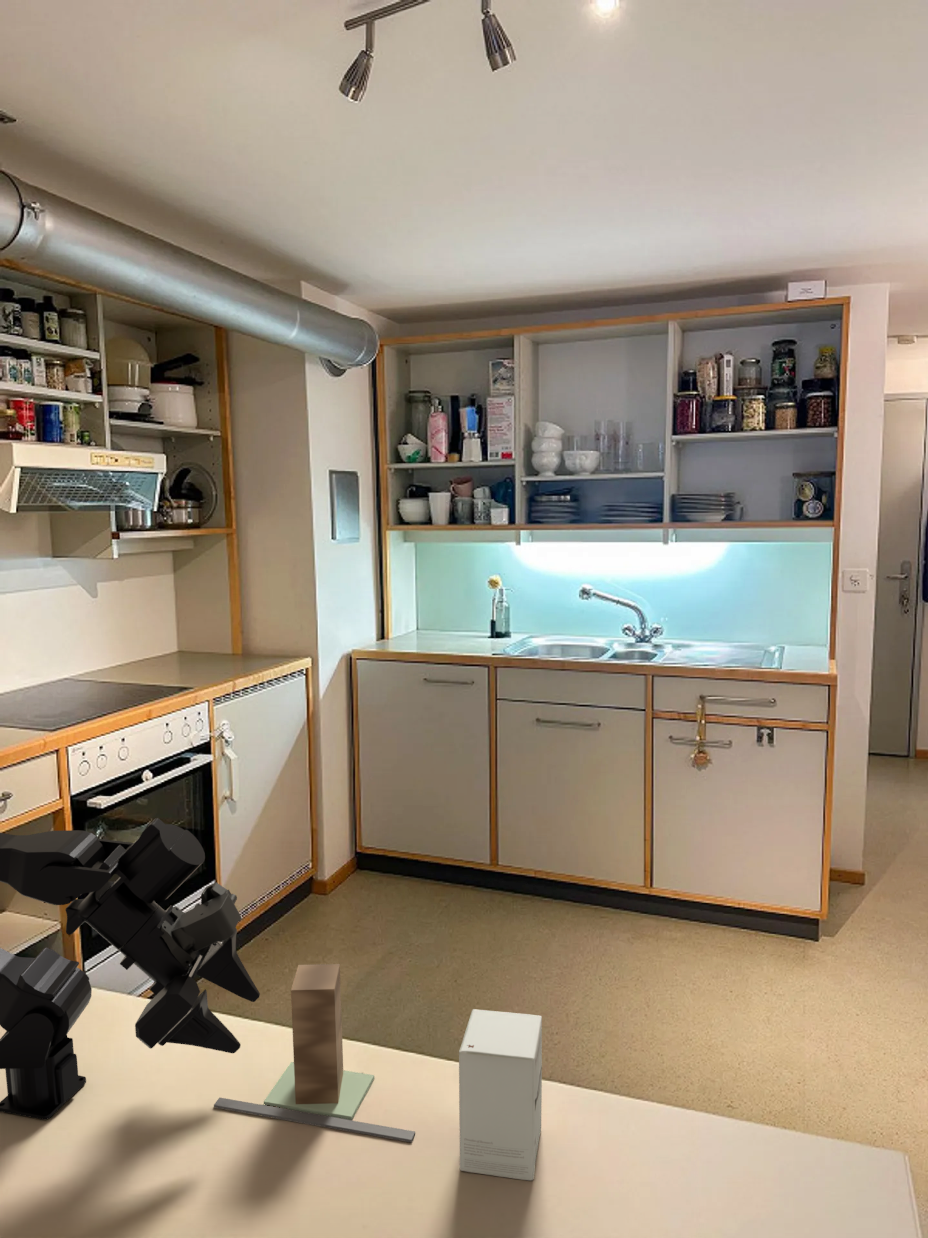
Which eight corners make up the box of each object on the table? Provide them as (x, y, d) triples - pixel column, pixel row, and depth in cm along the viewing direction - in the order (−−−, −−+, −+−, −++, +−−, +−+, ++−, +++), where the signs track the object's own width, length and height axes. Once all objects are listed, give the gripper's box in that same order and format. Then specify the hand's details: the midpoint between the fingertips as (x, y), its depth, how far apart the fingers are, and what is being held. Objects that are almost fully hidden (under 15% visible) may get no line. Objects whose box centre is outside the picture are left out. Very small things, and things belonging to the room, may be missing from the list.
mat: (263, 1105, 94) (263, 1101, 94) (291, 1065, 101) (291, 1062, 101) (351, 1120, 92) (351, 1116, 92) (374, 1078, 99) (374, 1075, 98)
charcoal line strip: (213, 1107, 94) (213, 1105, 94) (219, 1100, 95) (219, 1097, 95) (411, 1142, 89) (411, 1140, 89) (415, 1134, 90) (415, 1131, 90)
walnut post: (295, 1104, 94) (290, 990, 92) (302, 1074, 99) (298, 965, 97) (338, 1103, 94) (334, 989, 92) (343, 1072, 99) (339, 963, 97)
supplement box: (534, 1183, 83) (534, 1060, 82) (457, 1172, 85) (456, 1051, 83) (543, 1128, 91) (543, 1014, 89) (472, 1119, 92) (471, 1006, 90)
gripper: (161, 918, 84) (282, 1025, 85) (214, 841, 102) (313, 930, 104) (83, 997, 85) (204, 1101, 86) (149, 906, 103) (248, 993, 105)
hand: (247, 1023), depth 95 cm, fingers open, 9 cm apart
